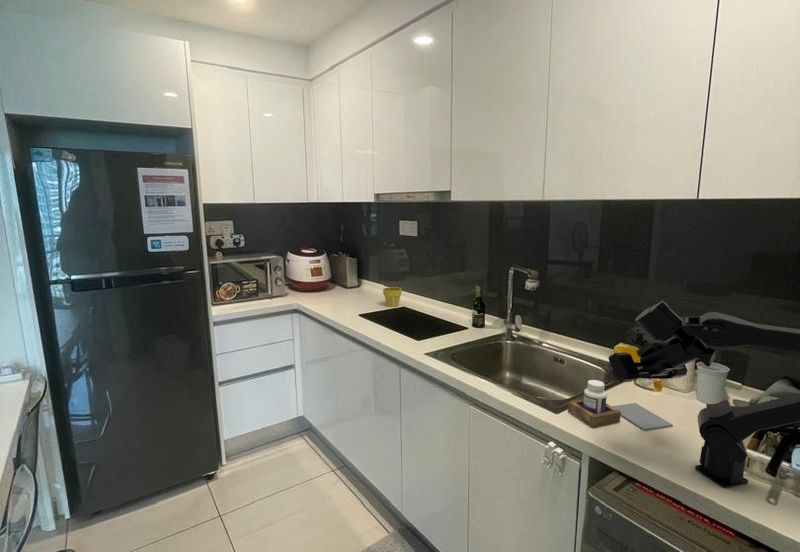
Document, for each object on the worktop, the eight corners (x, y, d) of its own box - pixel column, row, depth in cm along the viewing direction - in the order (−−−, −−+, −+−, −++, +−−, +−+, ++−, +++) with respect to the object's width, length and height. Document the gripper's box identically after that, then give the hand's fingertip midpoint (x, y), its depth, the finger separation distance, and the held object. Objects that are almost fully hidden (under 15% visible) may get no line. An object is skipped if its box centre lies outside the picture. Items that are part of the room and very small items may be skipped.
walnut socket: (619, 422, 105) (620, 411, 105) (592, 428, 102) (593, 417, 102) (593, 406, 114) (594, 396, 113) (567, 411, 111) (568, 401, 110)
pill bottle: (597, 411, 111) (601, 378, 109) (608, 422, 105) (611, 387, 104) (578, 412, 111) (581, 378, 109) (588, 422, 105) (591, 387, 104)
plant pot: (385, 308, 223) (385, 291, 221) (381, 304, 233) (381, 287, 231) (403, 307, 225) (403, 290, 224) (399, 303, 235) (399, 286, 234)
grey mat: (672, 426, 103) (672, 424, 103) (643, 431, 101) (644, 429, 101) (635, 404, 115) (635, 402, 115) (608, 408, 113) (608, 406, 113)
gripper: (686, 319, 94) (637, 345, 107) (623, 320, 88) (579, 348, 101) (712, 364, 88) (657, 387, 101) (646, 369, 83) (597, 392, 95)
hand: (622, 377), depth 100 cm, fingers open, 9 cm apart
